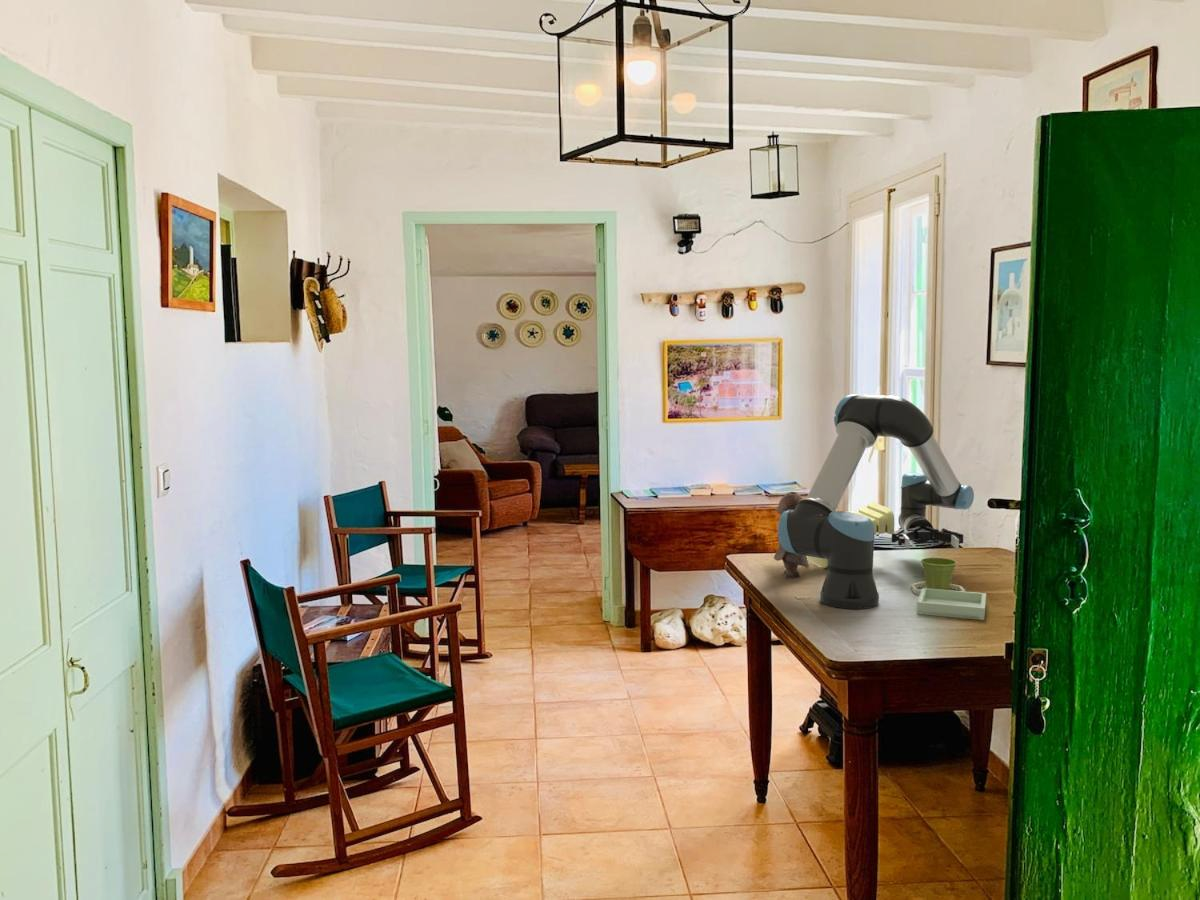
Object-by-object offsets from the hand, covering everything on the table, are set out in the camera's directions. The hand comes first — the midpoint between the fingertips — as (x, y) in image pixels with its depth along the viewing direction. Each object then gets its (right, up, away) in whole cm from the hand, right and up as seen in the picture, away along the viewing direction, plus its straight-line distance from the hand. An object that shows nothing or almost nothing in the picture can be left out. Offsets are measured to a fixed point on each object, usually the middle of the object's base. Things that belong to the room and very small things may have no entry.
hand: (932, 543), depth 293 cm
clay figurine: (-38, -11, +10) cm, 41 cm away
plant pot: (-1, -13, -9) cm, 15 cm away
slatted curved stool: (-22, -9, +26) cm, 35 cm away
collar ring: (-1, -12, -9) cm, 15 cm away
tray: (-4, -14, -26) cm, 30 cm away
